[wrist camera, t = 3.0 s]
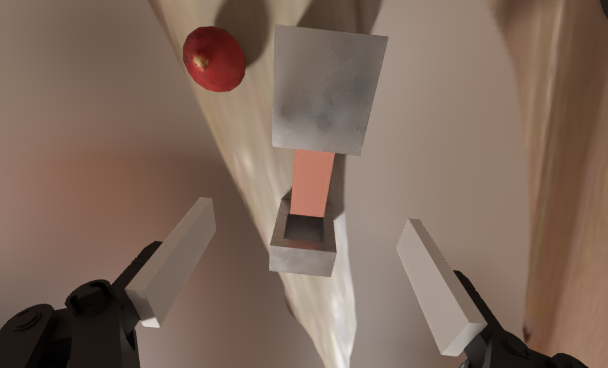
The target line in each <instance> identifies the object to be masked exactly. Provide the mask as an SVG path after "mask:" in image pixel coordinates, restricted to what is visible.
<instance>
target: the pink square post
mask: <svg viewBox="0 0 608 368" xmlns="http://www.w3.org/2000/svg"><path fill="white" fill-rule="evenodd" d="M334 156H335V153H330V152H321V151H312V150H302V149H295V159H294V172H293V184H292V197H291V210H290V214H297V215H306V216H316V217H324V212H325V207H326V201H327V195H328V190H329V184H330V178H331V173H332V167H333V161H334Z"/></svg>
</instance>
